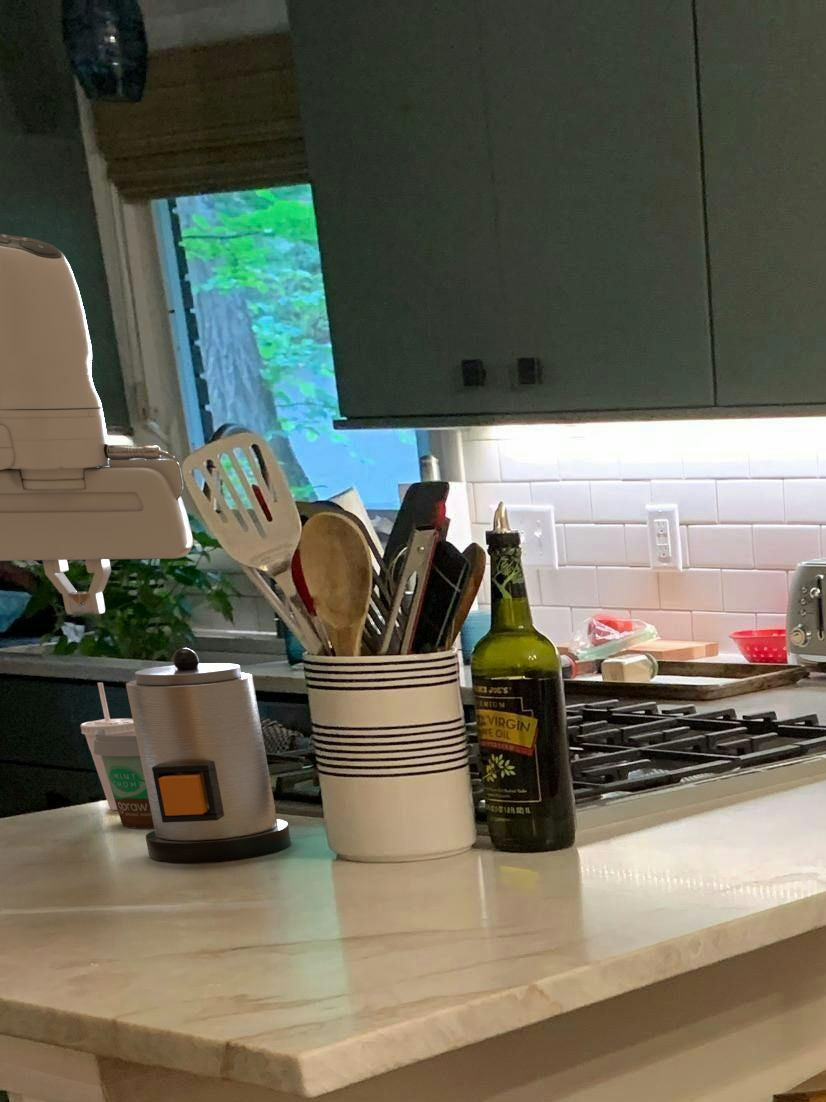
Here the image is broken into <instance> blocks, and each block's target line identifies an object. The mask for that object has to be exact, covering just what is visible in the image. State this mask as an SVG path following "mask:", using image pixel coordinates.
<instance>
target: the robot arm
mask: <svg viewBox="0 0 826 1102" xmlns="http://www.w3.org/2000/svg"><path fill="white" fill-rule="evenodd" d="M77 283H78V282H77V280H76V278H75V275H74V273H73V270H72V267H71V265H70V263H69V262H68V259H67V258H66V256H65V254H64V253H63V252H62V251H61V250H60V249H58V248H57V247H56V246H54V245H53V244H52V243H49V242H47V241H44V240H40V239H38V238H37V239H36V238H33V237H27V236H21V235H19V236H18V235H10V234H8V233H7V234H6V233H0V562H3V561H4V562H7V561H11V562H12V561H13V562H14V561H41V562H42V565H43V571H44V575H45V576H46V577H47V579H49V581H50V582H51V583H52V584H53V586H54V587H55V588H56V590H58V592H59V594H61V595H62V599H63V604H64V609H65V612H66V614H67V615H101V614H105V612H106V605H105V599H104V595H103V592H105V589H106V586H107V583H108V581H109V578H110V576H111V573H112V567H111V561H110V560H157V559H159V560H161V559H165V560H167V559H180V558H184V557H186V556H188V554H189V553H190V552H191V550H192V548H193V546H194V538H193V533H192V528H191V524H190V521H189V516H188V513H187V510H186V506H185V504H184V501H183V498H182V494H183V491H184V482H183V481H184V480H183V476H182V469H181V467H180V463H179V462H178V460H177V459H176V457H175V456H174V455H173V454H172V453H170V452H168V451H166V450H164V449H161V447H160V446H158V445H155V444H144V445H139V446H137V445H126V444H110V445H109V438H108V434H107V428H106V422H105V417H104V411H103V405H102V402H101V399H100V397H99V395H98V393H97V391H96V388H95V385H94V382H93V377H92V362H93V361H92V360H93V350H92V343H91V339H90V338H91V337H90V333H89V329H88V328H89V327H88V323H87V319H86V313H85V309H84V306H83V301H82V297H81V294H80V290H79V287H78V284H77ZM162 456H164V457H165V458H162ZM68 560H69V561H82V560H84V563H85V567H86V572H87V573H88V574H93V577H92V579H91V583H90V585H89V589H88V591H77V589H76V588H75V587H74V585H73V584H72V583H71V581H70V580H69V579H68V577H67V576H66V574H65V573H66V572H69V570H70V568H69V563H68Z"/></svg>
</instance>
